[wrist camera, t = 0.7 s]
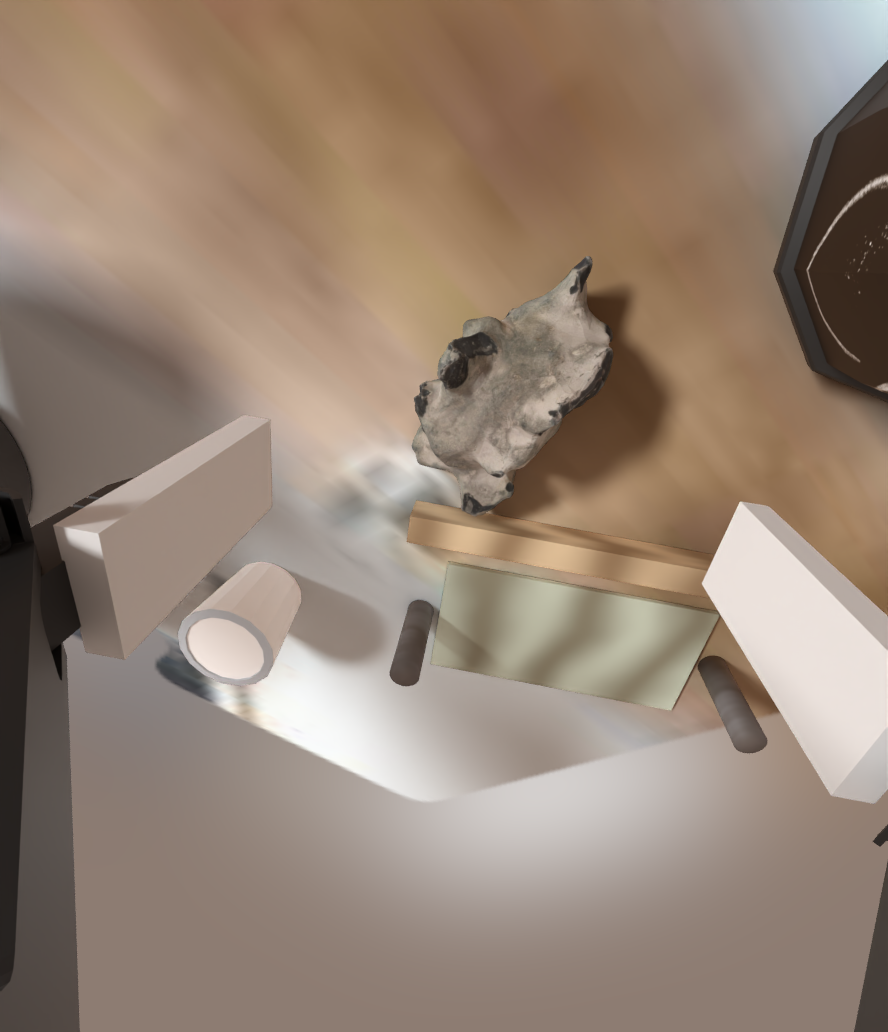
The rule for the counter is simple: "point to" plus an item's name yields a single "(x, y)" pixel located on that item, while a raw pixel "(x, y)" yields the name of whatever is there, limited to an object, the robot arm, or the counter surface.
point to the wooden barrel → (843, 246)
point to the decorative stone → (511, 389)
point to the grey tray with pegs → (569, 616)
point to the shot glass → (242, 625)
